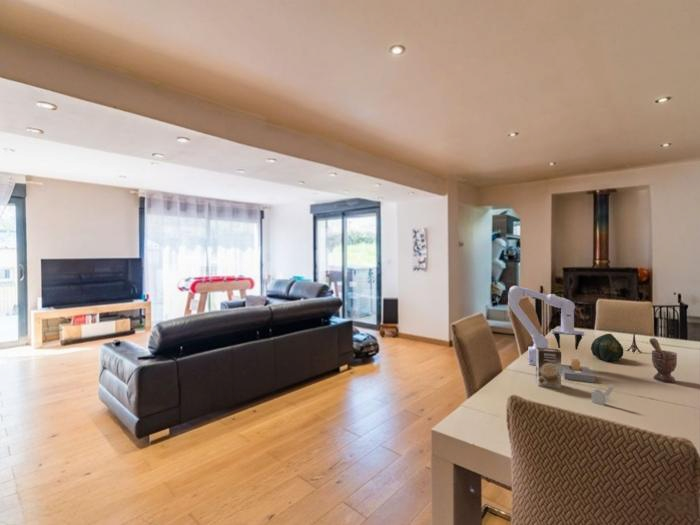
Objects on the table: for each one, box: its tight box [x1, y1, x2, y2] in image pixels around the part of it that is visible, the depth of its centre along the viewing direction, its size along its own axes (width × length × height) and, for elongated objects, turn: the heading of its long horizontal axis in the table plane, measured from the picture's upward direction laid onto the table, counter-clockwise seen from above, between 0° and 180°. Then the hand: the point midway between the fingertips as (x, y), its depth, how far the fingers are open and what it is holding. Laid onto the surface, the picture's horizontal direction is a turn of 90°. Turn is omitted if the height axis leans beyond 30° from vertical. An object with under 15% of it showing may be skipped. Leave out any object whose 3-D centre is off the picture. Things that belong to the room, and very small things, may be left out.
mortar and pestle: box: [649, 337, 678, 384], centre depth 158 cm, size 12×9×20 cm
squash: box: [590, 333, 624, 362], centre depth 192 cm, size 14×15×15 cm
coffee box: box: [535, 347, 562, 389], centre depth 155 cm, size 9×6×16 cm
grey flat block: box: [561, 363, 596, 383], centre depth 166 cm, size 12×14×3 cm
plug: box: [570, 358, 581, 371], centre depth 168 cm, size 3×4×6 cm
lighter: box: [591, 384, 615, 406], centre depth 134 cm, size 7×2×8 cm, turn 43°
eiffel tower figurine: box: [626, 331, 642, 354], centre depth 206 cm, size 15×10×13 cm
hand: (567, 348), depth 181 cm, fingers open, 7 cm apart
